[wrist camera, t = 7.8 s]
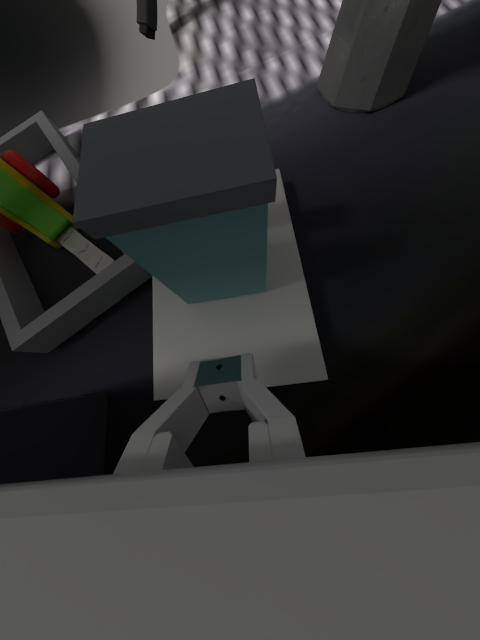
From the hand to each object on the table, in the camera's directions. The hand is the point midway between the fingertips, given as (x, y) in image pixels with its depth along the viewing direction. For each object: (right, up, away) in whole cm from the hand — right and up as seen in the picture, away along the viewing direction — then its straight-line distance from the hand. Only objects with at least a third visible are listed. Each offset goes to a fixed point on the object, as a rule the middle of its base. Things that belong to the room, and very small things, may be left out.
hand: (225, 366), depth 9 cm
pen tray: (-19, +13, +11) cm, 25 cm away
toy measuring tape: (-18, +11, +11) cm, 24 cm away
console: (0, +6, +7) cm, 9 cm away
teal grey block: (-1, +6, +5) cm, 8 cm away
